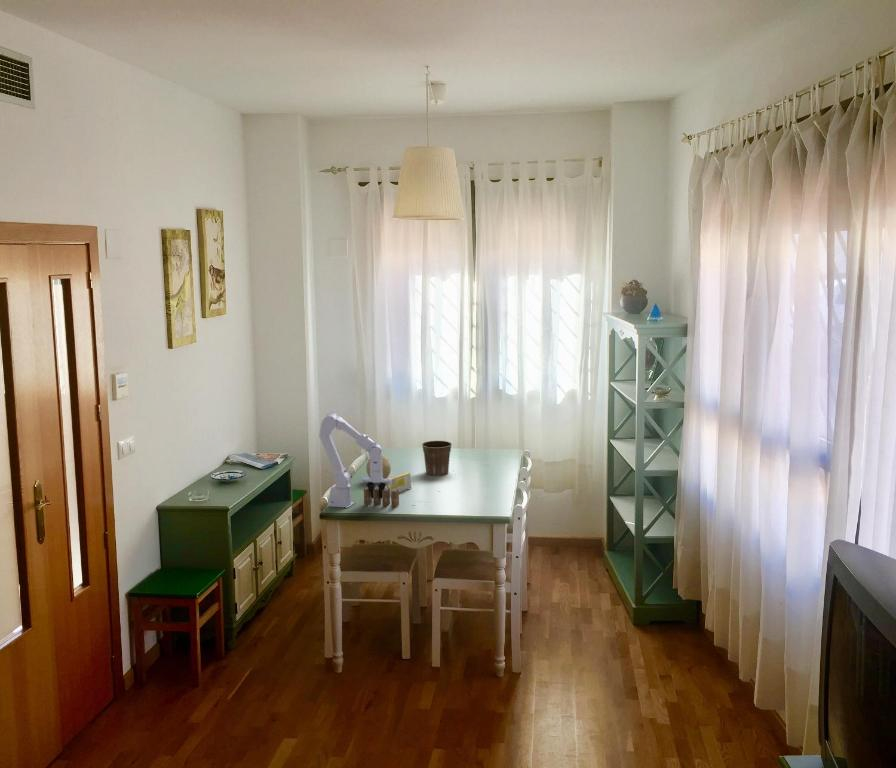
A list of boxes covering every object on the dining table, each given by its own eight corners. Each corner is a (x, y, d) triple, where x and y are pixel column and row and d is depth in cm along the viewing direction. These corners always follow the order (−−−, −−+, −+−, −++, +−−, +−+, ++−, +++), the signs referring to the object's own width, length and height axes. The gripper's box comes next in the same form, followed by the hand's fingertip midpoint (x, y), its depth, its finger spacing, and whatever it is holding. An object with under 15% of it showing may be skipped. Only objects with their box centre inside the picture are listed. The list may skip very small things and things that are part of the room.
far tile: (391, 507, 403) (391, 491, 402) (395, 504, 408) (394, 488, 406) (395, 508, 402) (395, 491, 401) (399, 505, 407) (398, 488, 406)
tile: (373, 506, 405) (373, 490, 404) (377, 503, 410) (376, 487, 409) (377, 506, 405) (377, 490, 404) (381, 503, 409) (380, 487, 408)
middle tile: (382, 507, 404) (382, 490, 403) (386, 504, 409) (385, 487, 408) (386, 507, 404) (386, 490, 402) (390, 504, 408) (389, 488, 407)
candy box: (408, 488, 436) (407, 472, 435) (411, 488, 435) (411, 473, 434) (386, 495, 424) (385, 479, 423) (389, 496, 423) (388, 479, 421)
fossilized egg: (381, 485, 442) (380, 457, 439) (361, 482, 448) (360, 454, 446) (395, 479, 452) (395, 452, 450) (376, 476, 459) (375, 449, 457)
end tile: (364, 505, 407) (363, 489, 405) (368, 502, 411) (367, 486, 410) (368, 506, 406) (367, 489, 405) (372, 503, 411) (371, 486, 410)
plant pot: (451, 476, 457) (451, 447, 455) (421, 477, 458) (420, 447, 455) (452, 469, 473) (452, 440, 471) (423, 469, 474) (422, 440, 471)
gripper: (393, 468, 407) (394, 496, 409) (365, 467, 411) (365, 494, 413) (388, 472, 400) (389, 500, 402) (359, 470, 404) (360, 498, 406)
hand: (377, 498), depth 407 cm, fingers open, 3 cm apart
